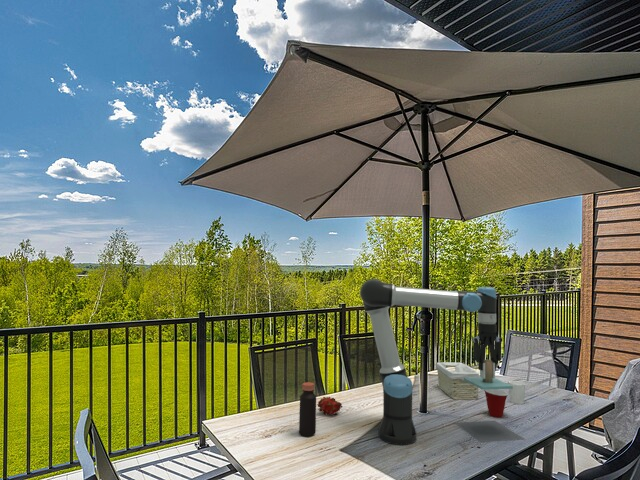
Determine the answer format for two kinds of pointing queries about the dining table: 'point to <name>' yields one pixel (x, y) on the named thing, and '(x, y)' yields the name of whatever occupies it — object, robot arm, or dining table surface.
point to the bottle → (307, 411)
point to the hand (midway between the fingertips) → (487, 377)
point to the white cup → (517, 392)
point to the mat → (489, 431)
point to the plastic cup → (496, 401)
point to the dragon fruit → (329, 405)
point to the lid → (488, 379)
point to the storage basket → (457, 380)
